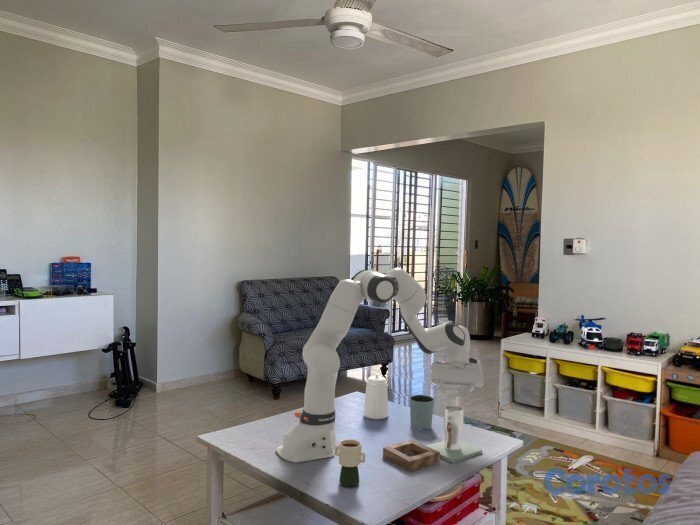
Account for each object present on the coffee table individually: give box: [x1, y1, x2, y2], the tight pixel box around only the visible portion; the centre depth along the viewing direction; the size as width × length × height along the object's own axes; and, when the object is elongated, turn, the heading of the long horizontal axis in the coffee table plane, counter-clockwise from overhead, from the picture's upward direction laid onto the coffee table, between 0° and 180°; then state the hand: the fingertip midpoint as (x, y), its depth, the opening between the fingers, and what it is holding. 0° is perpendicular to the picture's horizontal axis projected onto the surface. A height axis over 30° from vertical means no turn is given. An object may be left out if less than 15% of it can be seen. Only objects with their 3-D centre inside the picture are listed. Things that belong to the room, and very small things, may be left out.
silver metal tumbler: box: [443, 404, 464, 451], centre depth 192 cm, size 7×7×15 cm
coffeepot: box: [363, 372, 389, 420], centre depth 228 cm, size 11×25×19 cm, turn 168°
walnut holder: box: [382, 438, 441, 473], centre depth 184 cm, size 14×14×4 cm
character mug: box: [334, 438, 366, 487], centre depth 165 cm, size 11×7×13 cm, turn 59°
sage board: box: [426, 439, 483, 464], centre depth 193 cm, size 16×14×1 cm
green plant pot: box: [409, 394, 435, 431], centre depth 217 cm, size 10×10×12 cm
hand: (456, 394), depth 201 cm, fingers open, 8 cm apart
